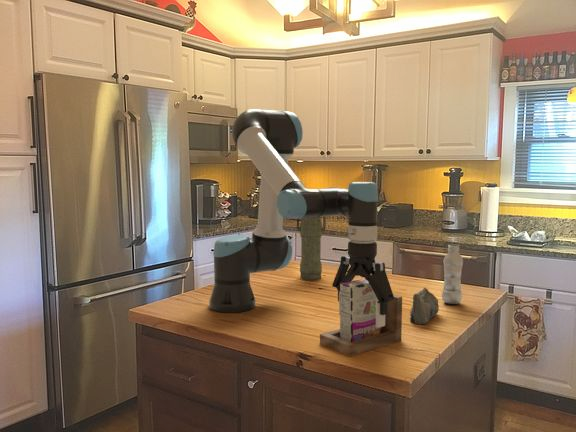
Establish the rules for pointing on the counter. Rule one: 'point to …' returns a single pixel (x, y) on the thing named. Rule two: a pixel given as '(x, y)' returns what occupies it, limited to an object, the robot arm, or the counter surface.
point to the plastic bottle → (452, 275)
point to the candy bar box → (357, 311)
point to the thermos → (311, 247)
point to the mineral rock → (423, 307)
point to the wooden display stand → (388, 336)
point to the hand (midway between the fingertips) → (361, 320)
